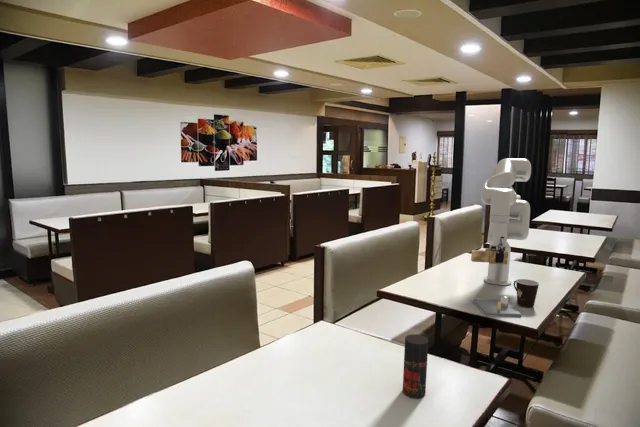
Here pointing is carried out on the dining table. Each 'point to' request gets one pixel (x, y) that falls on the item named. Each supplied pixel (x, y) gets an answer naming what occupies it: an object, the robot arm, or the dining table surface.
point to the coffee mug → (526, 292)
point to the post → (504, 301)
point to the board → (495, 308)
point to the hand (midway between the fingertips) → (496, 260)
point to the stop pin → (499, 307)
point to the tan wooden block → (487, 256)
